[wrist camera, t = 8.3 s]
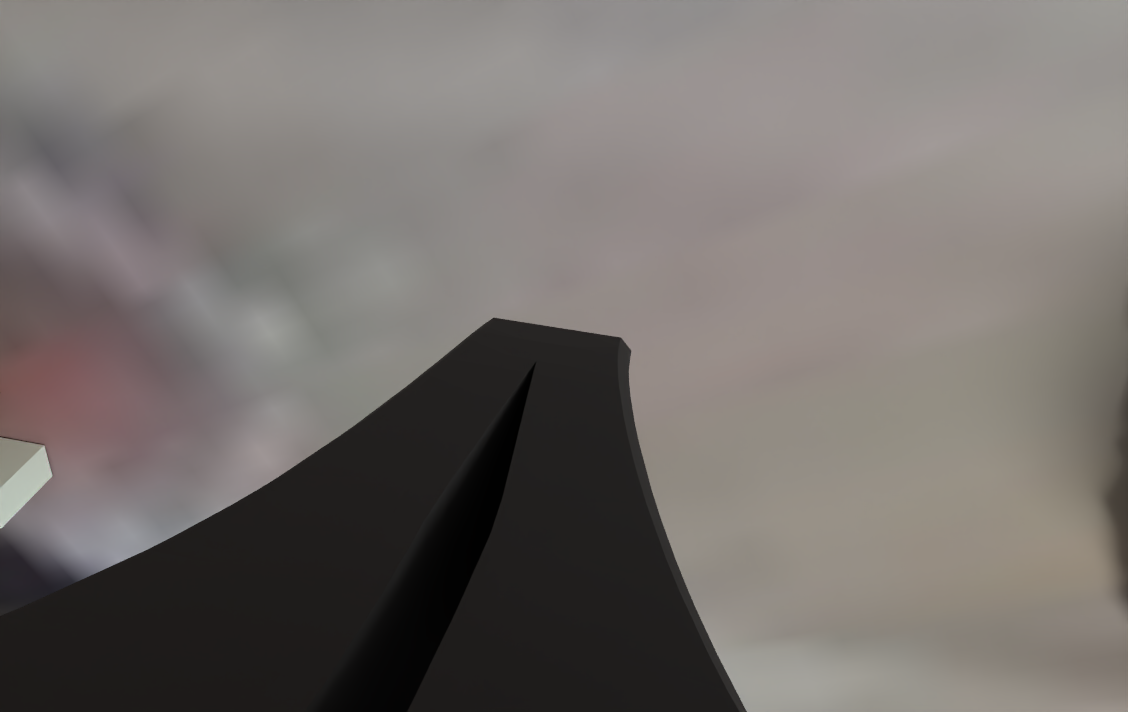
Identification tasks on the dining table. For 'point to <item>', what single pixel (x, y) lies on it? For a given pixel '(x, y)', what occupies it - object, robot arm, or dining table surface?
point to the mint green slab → (20, 475)
